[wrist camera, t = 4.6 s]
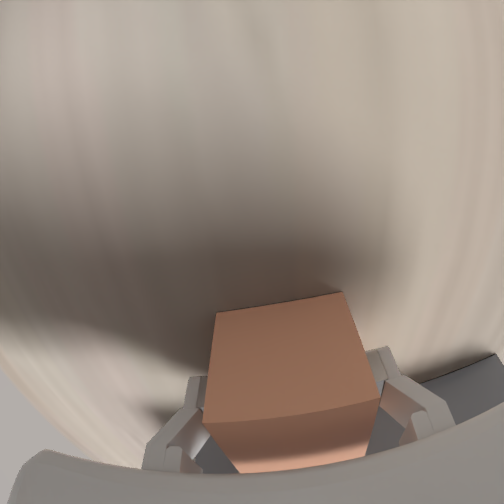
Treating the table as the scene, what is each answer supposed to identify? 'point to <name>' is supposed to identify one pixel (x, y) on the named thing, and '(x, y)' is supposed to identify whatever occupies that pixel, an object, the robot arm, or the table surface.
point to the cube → (289, 386)
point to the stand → (390, 431)
